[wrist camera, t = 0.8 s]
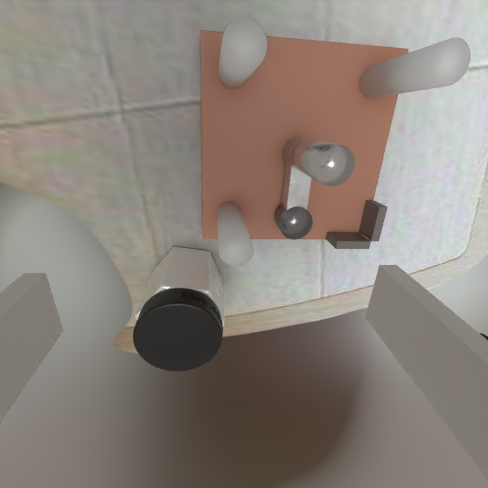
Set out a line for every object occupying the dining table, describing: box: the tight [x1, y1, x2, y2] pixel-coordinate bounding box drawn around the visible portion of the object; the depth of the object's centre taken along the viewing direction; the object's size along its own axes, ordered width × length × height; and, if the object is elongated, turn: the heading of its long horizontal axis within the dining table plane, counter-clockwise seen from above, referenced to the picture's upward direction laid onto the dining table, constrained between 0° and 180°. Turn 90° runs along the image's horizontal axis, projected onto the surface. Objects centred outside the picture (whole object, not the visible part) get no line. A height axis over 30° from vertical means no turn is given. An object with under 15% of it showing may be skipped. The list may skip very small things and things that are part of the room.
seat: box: [201, 17, 470, 266], centre depth 26 cm, size 20×20×12 cm
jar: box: [133, 247, 225, 371], centre depth 31 cm, size 9×8×12 cm
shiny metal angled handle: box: [274, 138, 355, 240], centre depth 27 cm, size 10×4×10 cm, turn 177°
